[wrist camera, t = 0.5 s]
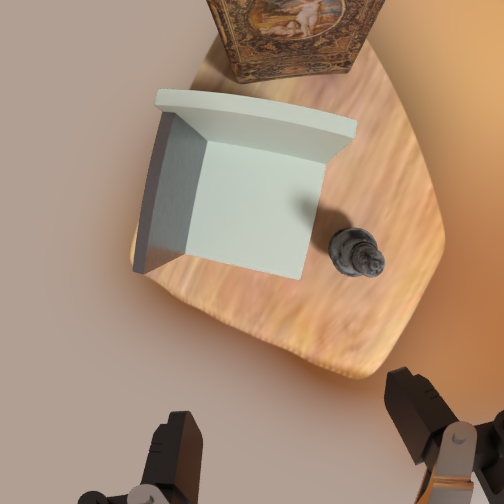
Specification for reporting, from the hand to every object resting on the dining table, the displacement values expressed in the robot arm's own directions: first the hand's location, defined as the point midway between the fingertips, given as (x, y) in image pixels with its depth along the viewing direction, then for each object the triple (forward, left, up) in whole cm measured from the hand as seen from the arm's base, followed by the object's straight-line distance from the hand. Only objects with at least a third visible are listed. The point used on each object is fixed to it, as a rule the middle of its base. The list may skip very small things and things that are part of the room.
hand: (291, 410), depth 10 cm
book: (-28, -4, -28) cm, 40 cm away
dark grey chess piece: (-4, +8, -28) cm, 30 cm away
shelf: (-7, -6, -28) cm, 30 cm away
